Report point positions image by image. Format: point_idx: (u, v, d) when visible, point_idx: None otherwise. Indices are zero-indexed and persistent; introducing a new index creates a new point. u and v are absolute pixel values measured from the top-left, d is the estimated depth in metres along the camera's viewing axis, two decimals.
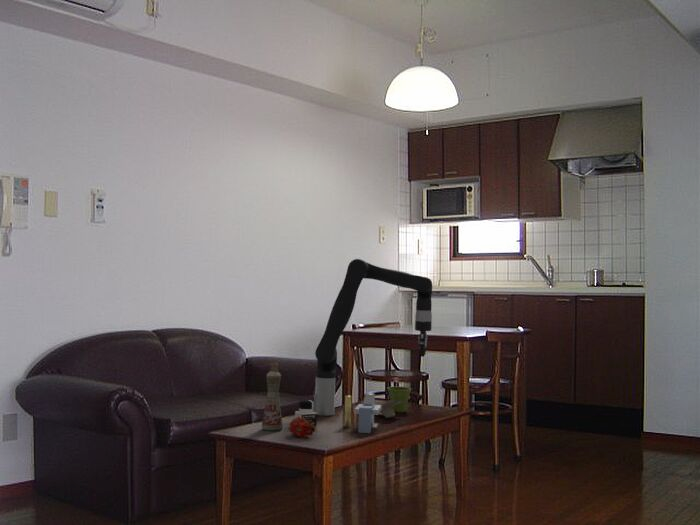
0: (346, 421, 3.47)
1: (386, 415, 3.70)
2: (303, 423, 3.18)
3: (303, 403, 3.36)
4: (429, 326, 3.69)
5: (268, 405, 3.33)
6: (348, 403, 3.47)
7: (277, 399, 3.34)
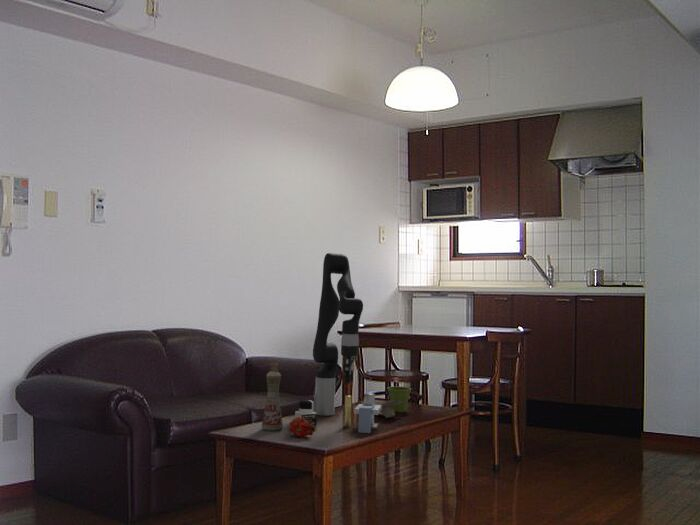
0: (346, 421, 3.47)
1: (386, 415, 3.71)
2: (303, 423, 3.18)
3: (303, 403, 3.36)
4: (356, 351, 3.46)
5: (268, 405, 3.33)
6: (348, 403, 3.47)
7: (277, 399, 3.34)
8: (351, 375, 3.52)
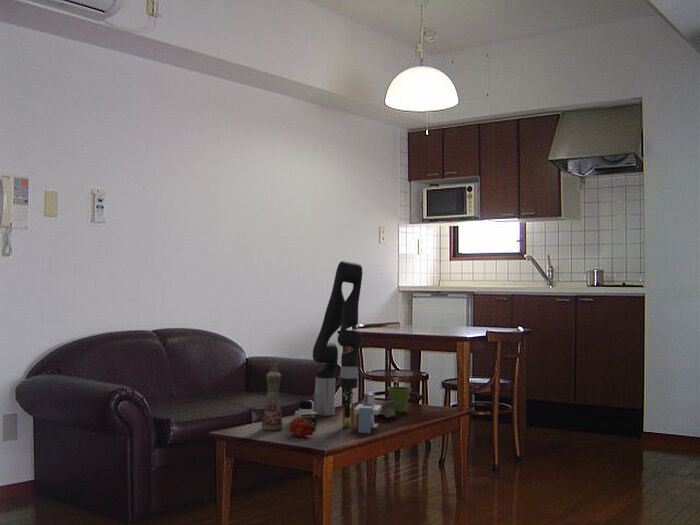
0: (346, 421, 3.47)
1: (386, 415, 3.71)
2: (303, 423, 3.18)
3: (303, 403, 3.36)
4: (355, 383, 3.46)
5: (268, 405, 3.33)
6: None
7: (277, 399, 3.34)
8: None
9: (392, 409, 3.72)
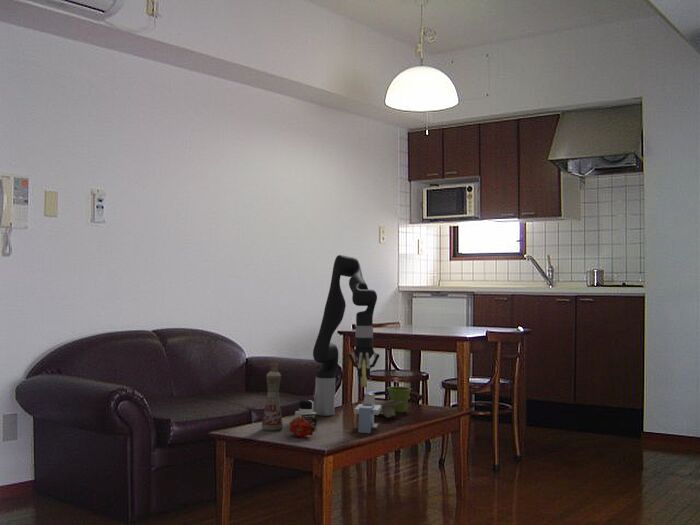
0: None
1: (386, 414, 3.72)
2: (303, 423, 3.18)
3: (303, 403, 3.36)
4: (359, 342, 3.40)
5: (268, 405, 3.33)
6: (361, 363, 3.42)
7: (277, 399, 3.34)
8: None
9: (392, 409, 3.73)
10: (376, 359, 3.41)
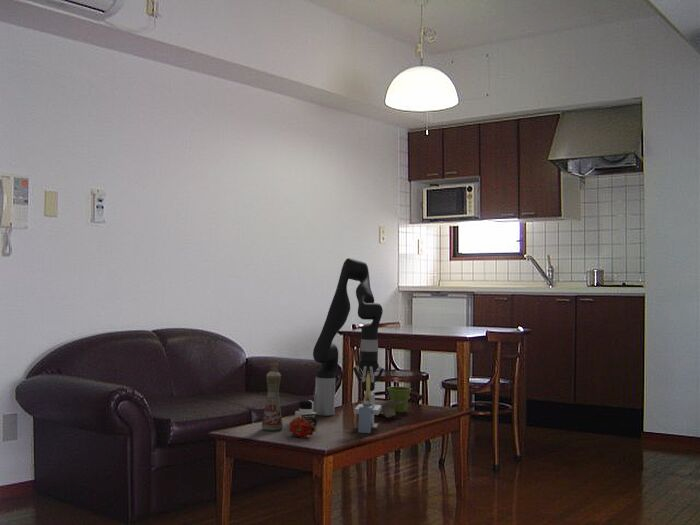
0: None
1: (386, 415, 3.72)
2: (303, 423, 3.18)
3: (303, 403, 3.36)
4: (363, 356, 3.40)
5: (268, 405, 3.33)
6: None
7: (277, 399, 3.34)
8: (371, 385, 3.42)
9: (392, 409, 3.73)
10: (380, 373, 3.40)
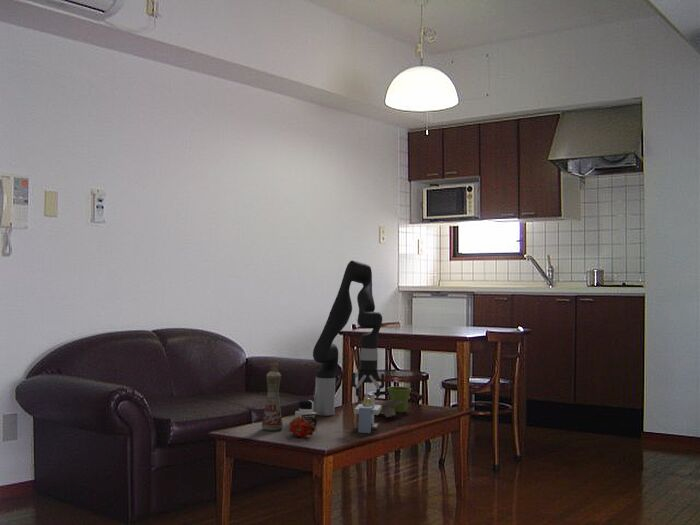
0: None
1: (386, 414, 3.72)
2: (303, 423, 3.18)
3: (303, 403, 3.36)
4: (362, 365, 3.40)
5: (268, 405, 3.33)
6: None
7: (277, 399, 3.34)
8: (376, 392, 3.41)
9: (392, 409, 3.73)
10: (382, 379, 3.40)
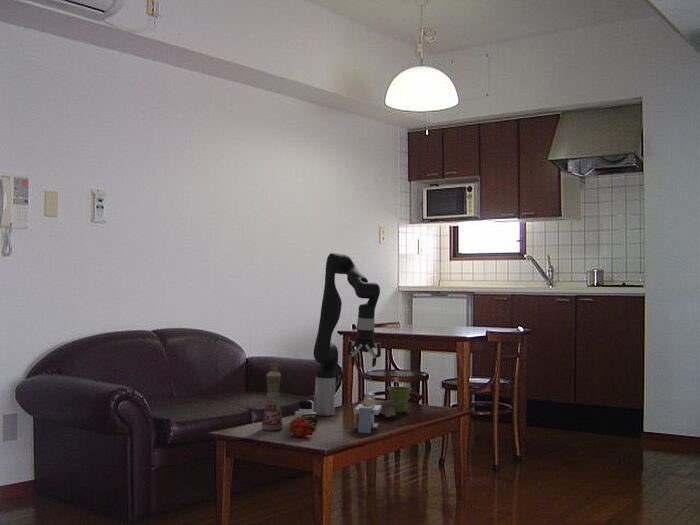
0: None
1: (386, 414, 3.73)
2: (303, 423, 3.18)
3: (303, 403, 3.36)
4: (359, 334, 3.46)
5: (268, 405, 3.33)
6: (365, 405, 3.42)
7: (277, 399, 3.34)
8: None
9: (392, 408, 3.74)
10: (378, 348, 3.47)
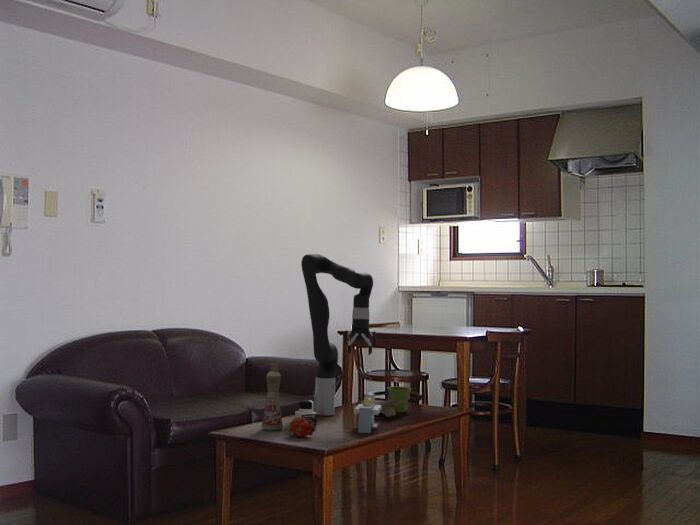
0: None
1: (387, 414, 3.73)
2: (303, 423, 3.18)
3: (303, 403, 3.36)
4: (354, 323, 3.57)
5: (268, 405, 3.33)
6: (365, 405, 3.42)
7: (277, 399, 3.34)
8: None
9: (393, 408, 3.74)
10: (374, 336, 3.57)
